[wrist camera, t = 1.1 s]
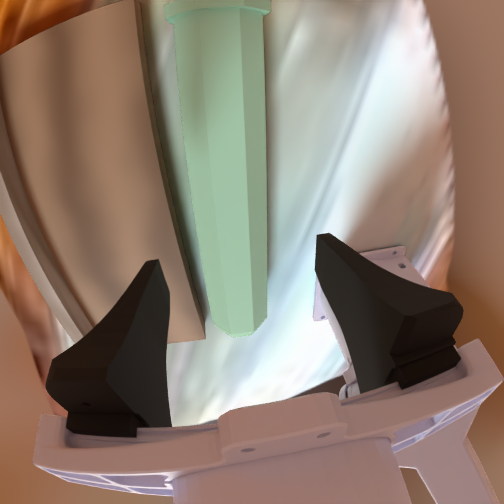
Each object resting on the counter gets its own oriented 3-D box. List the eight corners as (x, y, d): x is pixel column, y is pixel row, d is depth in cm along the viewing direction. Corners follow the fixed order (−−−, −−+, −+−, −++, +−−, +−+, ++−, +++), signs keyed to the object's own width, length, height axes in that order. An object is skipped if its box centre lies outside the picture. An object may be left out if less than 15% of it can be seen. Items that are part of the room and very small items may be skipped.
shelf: (140, 3, 12) (125, -11, 9) (204, 323, 29) (206, 356, 26) (-5, 65, 12) (-37, 72, 8) (98, 334, 28) (91, 364, 25)
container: (264, 356, 24) (257, -14, 9) (198, 342, 25) (141, 7, 10) (278, 305, 28) (279, 7, 13) (219, 296, 30) (190, 15, 15)
